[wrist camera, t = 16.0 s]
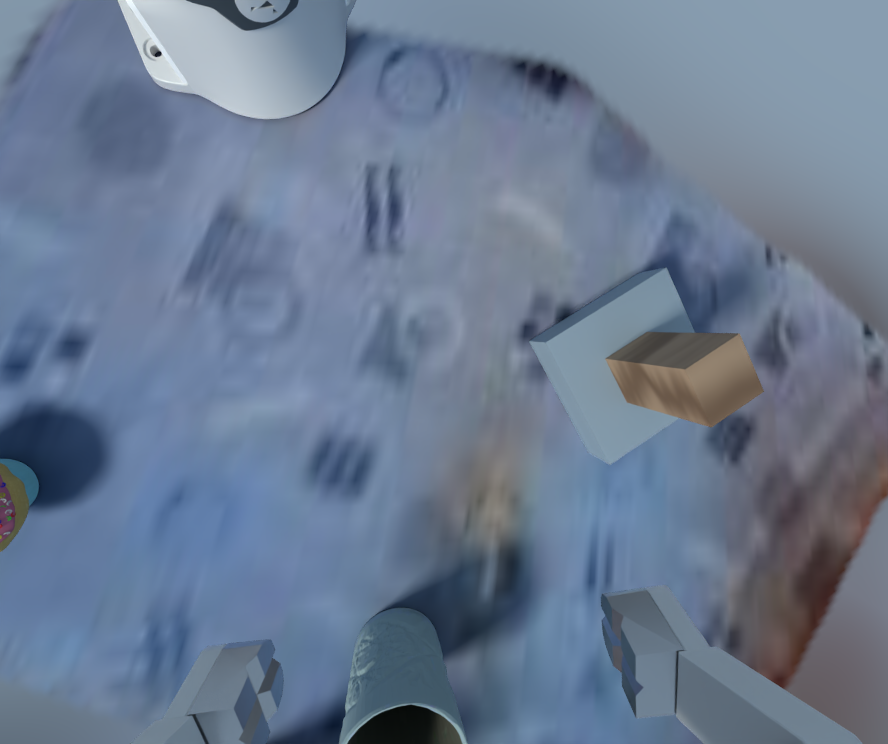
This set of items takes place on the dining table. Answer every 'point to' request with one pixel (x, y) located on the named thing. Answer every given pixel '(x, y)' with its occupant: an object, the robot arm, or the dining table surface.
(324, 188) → the dining table surface
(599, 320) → the slate base
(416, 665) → the embossed ceramic cup
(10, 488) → the cupcake
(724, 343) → the walnut block
